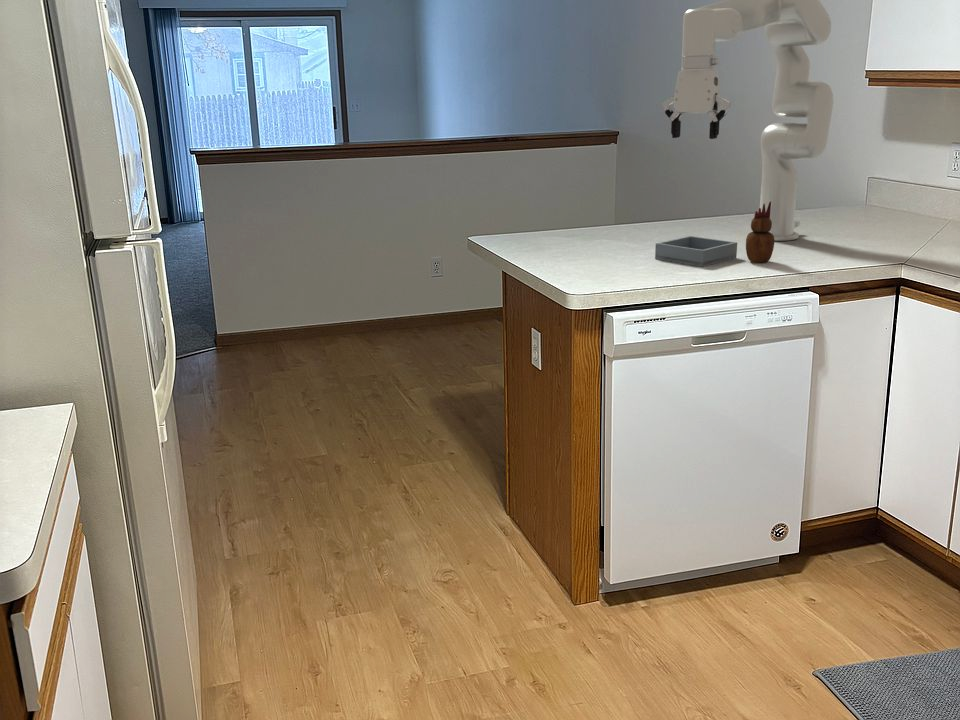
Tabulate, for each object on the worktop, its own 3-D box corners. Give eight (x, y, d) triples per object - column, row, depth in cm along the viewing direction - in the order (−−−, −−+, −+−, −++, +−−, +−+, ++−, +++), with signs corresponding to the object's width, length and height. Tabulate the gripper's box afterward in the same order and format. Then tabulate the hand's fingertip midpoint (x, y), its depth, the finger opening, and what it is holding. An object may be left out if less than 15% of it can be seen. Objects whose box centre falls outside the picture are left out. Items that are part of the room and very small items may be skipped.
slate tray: (689, 250, 246) (690, 235, 245) (736, 257, 236) (737, 242, 234) (655, 258, 237) (655, 243, 236) (702, 266, 227) (703, 250, 225)
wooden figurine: (773, 260, 232) (777, 200, 228) (772, 264, 227) (776, 203, 222) (745, 258, 234) (749, 199, 230) (743, 263, 229) (747, 203, 225)
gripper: (738, 63, 216) (734, 137, 222) (671, 64, 226) (668, 136, 232) (726, 63, 211) (722, 140, 216) (657, 65, 221) (655, 138, 226)
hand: (694, 138), depth 224 cm, fingers open, 9 cm apart
